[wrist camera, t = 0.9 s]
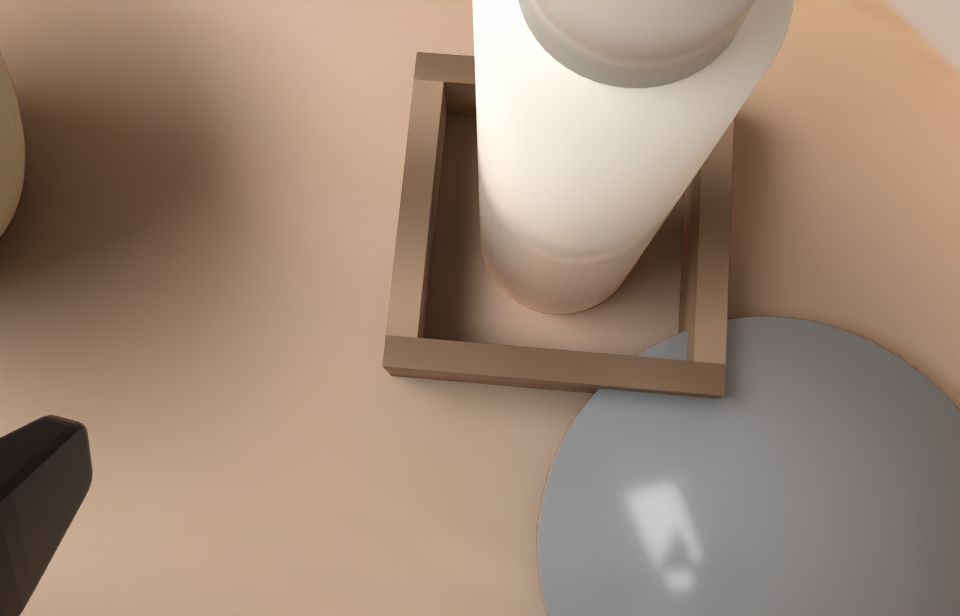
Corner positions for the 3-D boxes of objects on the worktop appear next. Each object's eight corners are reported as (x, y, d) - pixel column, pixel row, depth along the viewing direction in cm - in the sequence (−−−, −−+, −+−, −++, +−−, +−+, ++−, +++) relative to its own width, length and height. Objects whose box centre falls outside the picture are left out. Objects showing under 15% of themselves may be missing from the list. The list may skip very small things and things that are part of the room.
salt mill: (632, 320, 24) (834, 93, 10) (473, 307, 24) (454, 64, 10) (640, 170, 25) (838, -236, 11) (487, 158, 25) (485, -260, 11)
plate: (1000, 818, 22) (1029, 838, 21) (519, 771, 22) (521, 788, 21) (989, 343, 24) (1014, 336, 23) (553, 306, 24) (556, 298, 23)
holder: (704, 402, 24) (724, 395, 22) (391, 375, 24) (382, 366, 22) (716, 107, 25) (735, 76, 23) (422, 84, 26) (416, 51, 24)
